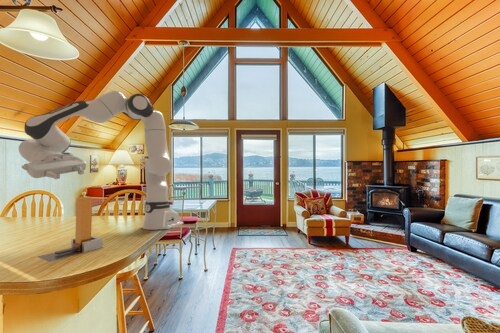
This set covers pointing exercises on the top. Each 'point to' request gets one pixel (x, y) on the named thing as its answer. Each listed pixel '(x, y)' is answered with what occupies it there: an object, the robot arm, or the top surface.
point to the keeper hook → (90, 244)
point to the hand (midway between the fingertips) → (70, 175)
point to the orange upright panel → (81, 224)
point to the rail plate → (55, 257)
